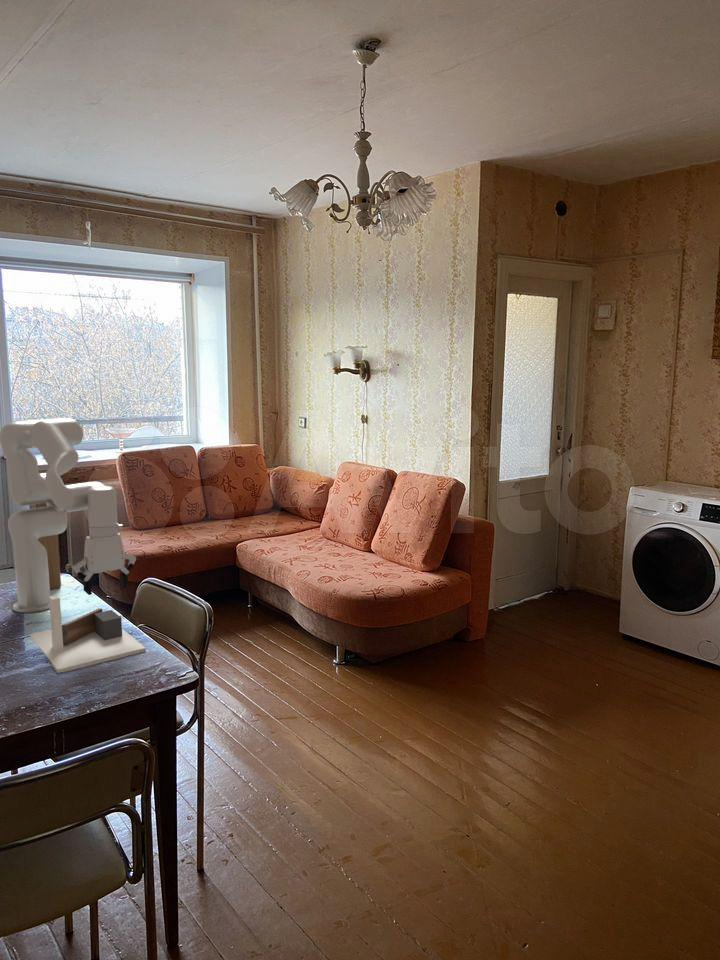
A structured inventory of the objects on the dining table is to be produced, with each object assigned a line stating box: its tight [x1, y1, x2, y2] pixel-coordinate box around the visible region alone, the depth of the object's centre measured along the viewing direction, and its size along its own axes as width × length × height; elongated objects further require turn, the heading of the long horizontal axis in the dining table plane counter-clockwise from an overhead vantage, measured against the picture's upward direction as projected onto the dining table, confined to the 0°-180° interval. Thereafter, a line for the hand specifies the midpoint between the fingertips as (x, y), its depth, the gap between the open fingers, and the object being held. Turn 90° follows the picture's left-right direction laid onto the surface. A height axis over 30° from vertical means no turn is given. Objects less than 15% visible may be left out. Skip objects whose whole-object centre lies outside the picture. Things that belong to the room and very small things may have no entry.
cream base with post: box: [28, 595, 146, 674], centre depth 193 cm, size 30×22×15 cm
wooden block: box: [38, 534, 62, 590], centre depth 243 cm, size 10×10×20 cm
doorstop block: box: [94, 609, 123, 640], centre depth 198 cm, size 8×5×6 cm, turn 38°
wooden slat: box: [62, 607, 104, 645], centre depth 196 cm, size 1×15×6 cm, turn 159°
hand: (106, 590), depth 196 cm, fingers open, 9 cm apart
